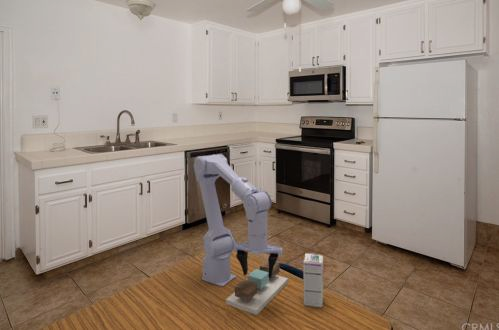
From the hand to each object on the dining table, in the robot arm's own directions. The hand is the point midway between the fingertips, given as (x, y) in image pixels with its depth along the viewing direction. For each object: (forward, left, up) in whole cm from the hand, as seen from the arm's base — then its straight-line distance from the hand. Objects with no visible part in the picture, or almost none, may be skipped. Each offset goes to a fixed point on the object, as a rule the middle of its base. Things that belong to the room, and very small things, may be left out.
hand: (257, 275), depth 97 cm
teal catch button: (-3, +5, -6) cm, 9 cm away
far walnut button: (-3, +13, -6) cm, 15 cm away
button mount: (-3, +5, -9) cm, 11 cm away
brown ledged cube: (-3, -2, -6) cm, 7 cm away
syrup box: (+14, +10, -10) cm, 20 cm away
